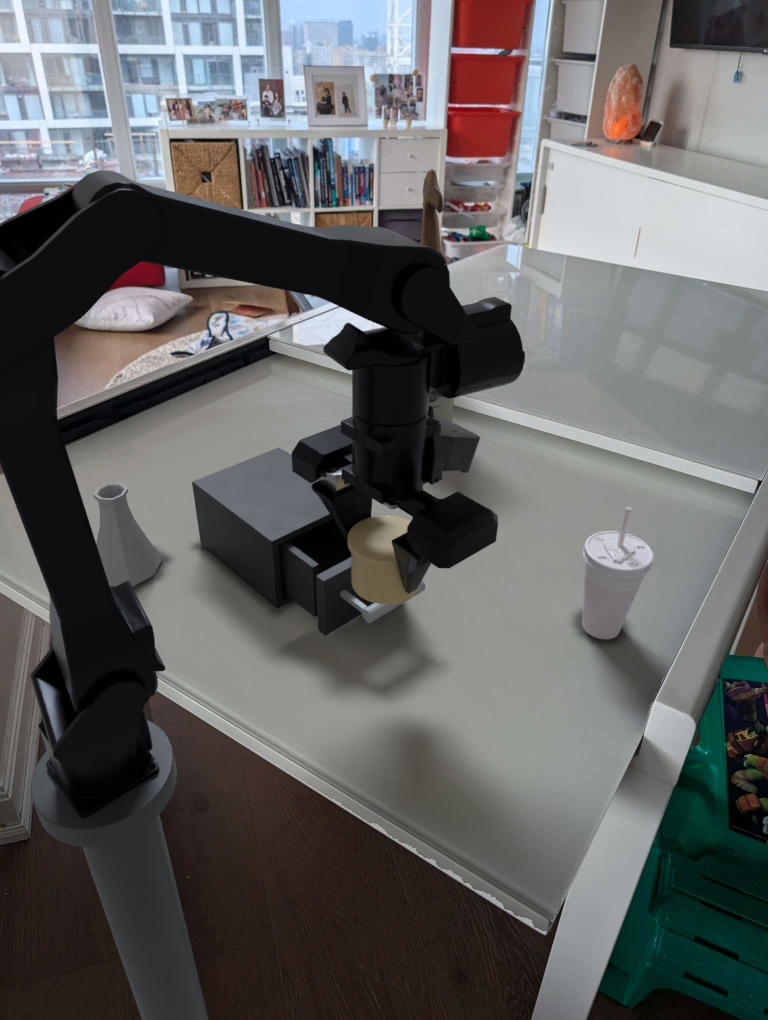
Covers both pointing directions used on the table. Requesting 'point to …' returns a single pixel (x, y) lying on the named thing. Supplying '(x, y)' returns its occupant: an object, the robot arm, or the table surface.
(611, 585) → the smoothie
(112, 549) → the flask
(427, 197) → the bird sculpture
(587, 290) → the table surface
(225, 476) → the mini filing cabinet
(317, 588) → the drawer
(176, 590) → the table surface
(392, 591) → the beige short cylinder
